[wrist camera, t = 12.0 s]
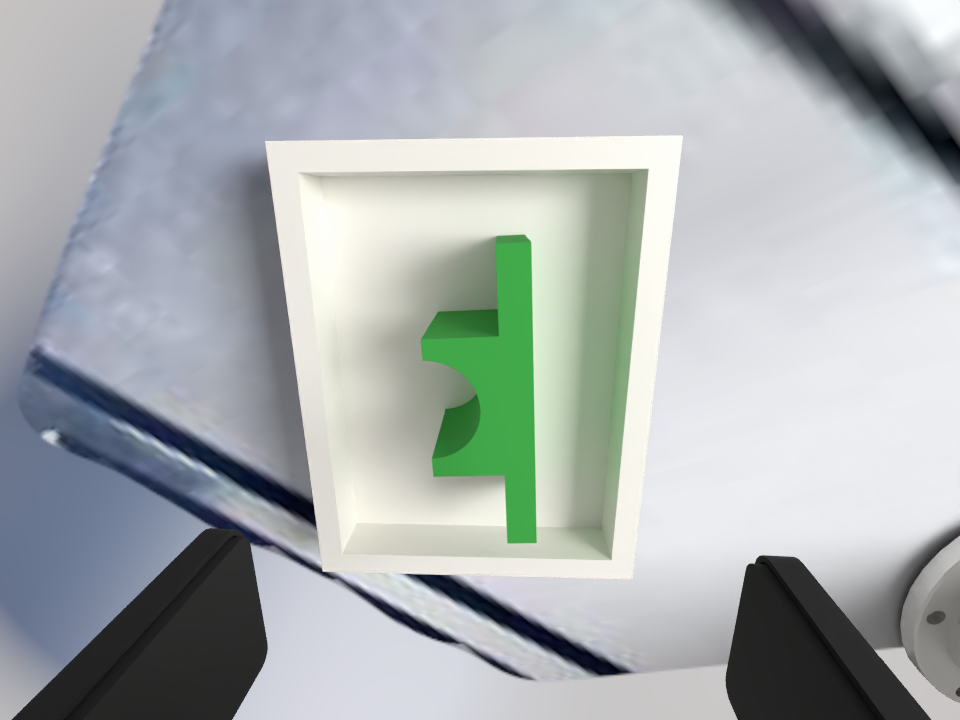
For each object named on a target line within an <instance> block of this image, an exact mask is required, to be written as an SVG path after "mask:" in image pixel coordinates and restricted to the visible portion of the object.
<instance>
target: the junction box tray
mask: <svg viewBox="0 0 960 720" xmlns="http://www.w3.org/2000/svg"><path fill="white" fill-rule="evenodd" d="M682 138H683V136H612V137H540V138H467V139H395V140H322V141H265V144H266V151H267V159H268V166H269V174H270V181H271V188H272V196H273V203H274V211H275V218H276V226H277V233H278V241H279V248H280V256H281V263H282V271H283V278H284V286H285V293H286V301H287V308H288V316H289V323H290V330H291V338H292V345H293V353H294V360H295V368H296V375H297V383H298V390H299V398H300V405H301V413H302V420H303V428H304V435H305V443H306V450H307V457H308V465H309V472H310V480H311V487H312V495H313V502H314V510H315V517H316V525H317V532H318V540H319V547H320V555H321V562H322V570H323V572H360V573H400V574H439V575H479V576H519V577H558V578H598V579H633V571H634V562H635V553H636V544H637V535H638V527H639V518H640V509H641V500H642V491H643V482H644V474H645V465H646V456H647V447H648V438H649V430H650V421H651V412H652V403H653V394H654V385H655V377H656V368H657V359H658V350H659V341H660V333H661V324H662V315H663V306H664V297H665V288H666V280H667V271H668V262H669V253H670V244H671V235H672V227H673V218H674V209H675V200H676V191H677V183H678V174H679V165H680V156H681V147H682ZM524 234H525V235H526V237H527V238H528V239H529V240H530V241H531V250H532V307H533V363H534V420H535V476H536V533H537V543H511V544H507V523H506V498H505V475H493V476H447V477H433V467H432V456H433V452H434V449H435V445H436V442H437V438H438V434H439V431H440V427H441V424H442V420H443V417H444V413H445V409H450V408H455V407H458V406H461V405H463V404H465V403H467V402H468V401H470V400H471V399H472V398H473V397H474V396H475V395H476V391H475V390H474V388H473V386H472V385H471V383H470V382H469V381H468V380H467V379H466V378H465V377H464V376H463V375H462V374H461V373H460V372H458V371H457V370H455V369H453V368H452V367H450V366H447V365H445V364H442V363H438V362H433V361H423V360H422V349H421V338H422V337H423V335H424V333H425V332H426V330H427V328H428V327H429V325H430V324H431V322H432V320H433V319H434V317H435V316H436V314H437V312H441V311H465V310H489V309H498V300H497V275H496V251H495V242H496V237H497V236H504V235H524Z"/></svg>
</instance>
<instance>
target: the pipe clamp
mask: <svg viewBox="0 0 960 720" xmlns="http://www.w3.org/2000/svg"><path fill="white" fill-rule="evenodd" d="M495 251H496V275H497V300H498V309H489V310H465V311H441V312H437V314H436V316H435V317H434V319H433V320H432V322H431V324H430V325H429V327H428V328H427V330H426V332H425V333H424V335H423V337H422V338H421V349H422V360H423V361H433V362H438V363H442V364H445V365H447V366H450V367H452V368H453V369H455V370H457V371H458V372H460V373H461V374H462V375H463V376H464V377H465V378H466V379H467V380H468V381H469V382H470V383H471V385H472V386H473V388H474V390H475V391H476V395H475V396H474V397H473V398H472V399H471V400H470V401H468V402H467V403H465V404H463V405H461V406H458V407H455V408H450V409H445V413H444V417H443V420H442V424H441V427H440V431H439V434H438V438H437V442H436V445H435V449H434V452H433V456H432V467H433V477H447V476H493V475H505V498H506V523H507V544H511V543H537V533H536V476H535V420H534V363H533V307H532V250H531V241H530V240H529V239H528V238H527V237H526V235H525V234H524V235H504V236H497V237H496V242H495Z"/></svg>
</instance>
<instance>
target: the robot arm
mask: <svg viewBox="0 0 960 720" xmlns="http://www.w3.org/2000/svg"><path fill="white" fill-rule="evenodd" d="M900 628H901V637H902V643H903V646H904V648H905V650H906V653H907V655H908V657H909V659H910V660H911V661H912V663H913V664H914V665H915V666H916V667H917V669H918V670H919V671H920V672H921V674H922V675H923V676H924V677H925V678H926V679H927V680H928V681H929V682H930V683H931V684H932V685H933V686H934V687H935V688H936V689H937V690H938V691H939V692H941V693H943V694H944V695H946V696H947V697H949V698H951V699H952V700H954V701H957V702H959V703H960V535H959V536H958V537H957V538H956V539H954V540H953V541H952V542H950V543H949V544H948V545H947V546H945V547H944V548H943V549H942V550H940V551H939V552H938V553H937V554H936V555H935V556H934V557H933V559H932V560H931V561H930V562H929V563H928V564H927V565H926V566H925V567H924V568H923V569H922V571H921V572H920V574H919V575H918V577H917V578H916V580H915V582H914V583H913V585H912V586H911V588H910V590H909V593H908V595H907V598H906V600H905V603H904V605H903V610H902V616H901V623H900ZM267 648H268V647H267V638H266V632H265V627H264V621H263V615H262V609H261V604H260V598H259V592H258V586H257V581H256V575H255V570H254V563H253V558H252V552H251V546H250V542H249V540H248V539H246V538H243V535H242V533H241V532H240V531H239V530H233V529H213V528H210V529H206V530H205V531H203V532H202V533H201V534H200V535H199V536H198V537H197V538H196V539H195V540H194V541H193V542H192V543H190V545H188V546H187V547H186V549H184V550H183V551H182V552H181V553H180V554H179V555H178V556H177V557H176V558H175V559H174V560H173V561H172V562H171V563H170V564H169V565H168V566H167V567H166V568H165V569H164V570H163V571H162V572H161V573H160V574H159V575H158V576H157V577H156V578H155V579H154V580H153V581H152V582H151V583H150V584H149V585H148V586H147V587H146V588H145V589H144V590H143V591H142V592H141V593H140V594H139V595H138V596H137V597H136V598H135V599H134V600H133V601H132V602H131V603H130V604H129V605H128V606H127V607H126V608H125V609H124V610H123V611H122V612H121V613H120V614H118V615H117V616H116V618H114V619H113V621H111V622H110V623H109V624H108V625H107V626H106V627H105V628H104V629H103V630H102V631H101V632H100V633H99V634H98V635H97V636H96V637H95V638H94V639H93V640H92V641H91V642H90V643H89V644H88V645H87V646H86V647H85V648H84V649H83V650H82V651H81V652H80V653H79V654H78V655H77V656H76V657H75V658H74V659H73V660H72V661H71V662H70V663H69V664H68V665H67V666H66V667H65V668H64V669H63V670H62V671H61V672H60V673H59V674H58V675H57V676H56V677H55V678H54V679H53V680H52V681H51V682H49V683H48V684H47V685H46V687H44V688H43V690H41V691H40V692H39V693H38V694H37V695H36V696H35V697H34V698H33V699H32V700H31V701H30V702H29V703H28V704H27V705H26V706H25V707H24V708H23V709H22V710H21V711H20V712H19V713H18V714H17V715H16V716H15V717H14V718H13V719H12V720H232V719H233V717H234V715H235V714H236V712H237V710H238V709H239V707H240V705H241V703H242V702H243V700H244V698H245V696H246V695H247V693H248V691H249V689H250V688H251V686H252V684H253V682H254V681H255V679H256V677H257V675H258V674H259V672H260V670H261V669H262V667H263V664H264V662H265V659H266V655H267ZM726 689H727V693H728V697H729V700H730V703H731V705H732V707H733V710H734V712H735V714H736V716H737V719H738V720H931V719H930V717H929V716H928V715H927V714H926V713H925V711H924V710H923V709H922V708H921V706H920V705H919V704H918V703H917V702H916V700H915V699H914V698H913V697H912V696H911V694H910V693H909V692H908V691H907V689H906V688H905V687H904V686H903V685H902V683H901V682H900V681H899V680H898V679H897V677H896V676H895V675H894V674H893V672H892V671H891V670H890V669H889V668H888V666H887V665H886V664H885V663H884V661H883V660H882V659H881V658H880V657H879V656H878V655H877V653H876V652H875V651H874V650H873V649H872V647H871V646H870V645H869V644H868V642H867V641H866V640H865V639H864V638H863V636H862V635H861V634H860V633H859V631H858V630H857V629H856V628H855V627H854V625H853V624H852V623H851V622H850V620H849V619H848V618H847V617H846V616H845V614H844V613H843V612H842V611H841V609H840V608H839V607H838V606H837V605H836V603H835V602H834V601H833V600H832V598H831V597H830V596H829V595H828V594H827V592H826V591H825V590H824V589H823V587H822V586H821V585H820V584H819V583H818V581H817V580H816V579H815V578H814V576H813V575H812V574H811V573H810V572H809V570H808V569H807V568H806V567H805V565H804V564H803V563H802V562H801V561H800V560H799V559H797V558H795V557H783V556H763V555H762V556H759V557H758V558H757V559H756V562H755V564H749V565H748V566H747V568H746V572H745V577H744V582H743V588H742V593H741V598H740V604H739V609H738V614H737V619H736V625H735V630H734V635H733V641H732V646H731V651H730V656H729V662H728V667H727V672H726Z"/></svg>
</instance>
